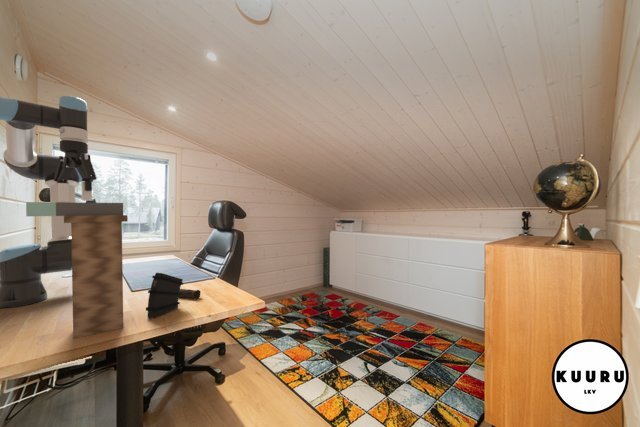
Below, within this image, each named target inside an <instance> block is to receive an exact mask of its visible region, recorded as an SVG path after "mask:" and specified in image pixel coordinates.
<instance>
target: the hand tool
mask: <svg viewBox="0 0 640 427" xmlns="http://www.w3.org/2000/svg"><path fill="white" fill-rule="evenodd" d="M179 293H181V294H180V295H179V296H178V298H186V299H190V300H191V299H193V301H196V300H198V299H200V297H201V290H199V289H195V290H194V289H185V288H180V290H179Z"/></svg>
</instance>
